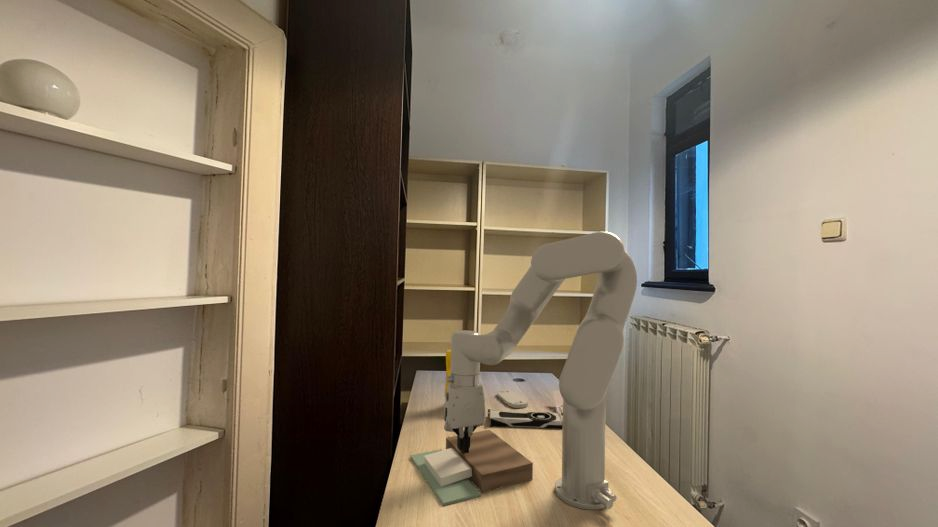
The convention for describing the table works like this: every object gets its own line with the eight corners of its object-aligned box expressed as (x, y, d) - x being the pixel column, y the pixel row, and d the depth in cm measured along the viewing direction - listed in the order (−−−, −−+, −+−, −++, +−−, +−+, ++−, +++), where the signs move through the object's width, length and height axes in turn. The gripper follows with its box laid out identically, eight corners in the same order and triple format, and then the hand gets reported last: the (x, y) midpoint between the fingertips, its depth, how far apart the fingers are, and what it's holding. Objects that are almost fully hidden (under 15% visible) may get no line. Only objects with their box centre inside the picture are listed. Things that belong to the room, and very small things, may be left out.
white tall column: (567, 390, 149) (580, 413, 124) (567, 406, 149) (580, 431, 124) (552, 390, 150) (561, 412, 125) (552, 405, 149) (561, 430, 124)
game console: (531, 401, 146) (511, 403, 143) (531, 408, 145) (511, 410, 143) (512, 388, 163) (494, 389, 160) (512, 394, 163) (494, 395, 160)
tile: (472, 476, 92) (471, 468, 92) (441, 486, 89) (440, 478, 89) (452, 455, 103) (452, 447, 103) (424, 463, 100) (423, 455, 100)
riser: (532, 479, 94) (532, 462, 94) (482, 492, 88) (482, 475, 88) (489, 443, 114) (489, 429, 114) (445, 452, 108) (446, 437, 108)
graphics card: (487, 408, 136) (558, 410, 134) (487, 418, 136) (558, 420, 134) (487, 418, 126) (564, 421, 124) (487, 429, 126) (564, 432, 124)
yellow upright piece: (469, 418, 134) (470, 354, 134) (446, 419, 132) (448, 355, 133) (461, 401, 151) (462, 345, 152) (442, 402, 150) (443, 345, 150)
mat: (480, 496, 87) (480, 493, 87) (443, 505, 83) (443, 503, 83) (441, 451, 108) (441, 449, 108) (410, 457, 104) (410, 455, 104)
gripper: (443, 386, 92) (441, 463, 92) (497, 380, 99) (496, 452, 98) (432, 378, 99) (431, 450, 98) (483, 373, 105) (482, 440, 105)
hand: (463, 451), depth 98 cm, fingers closed
